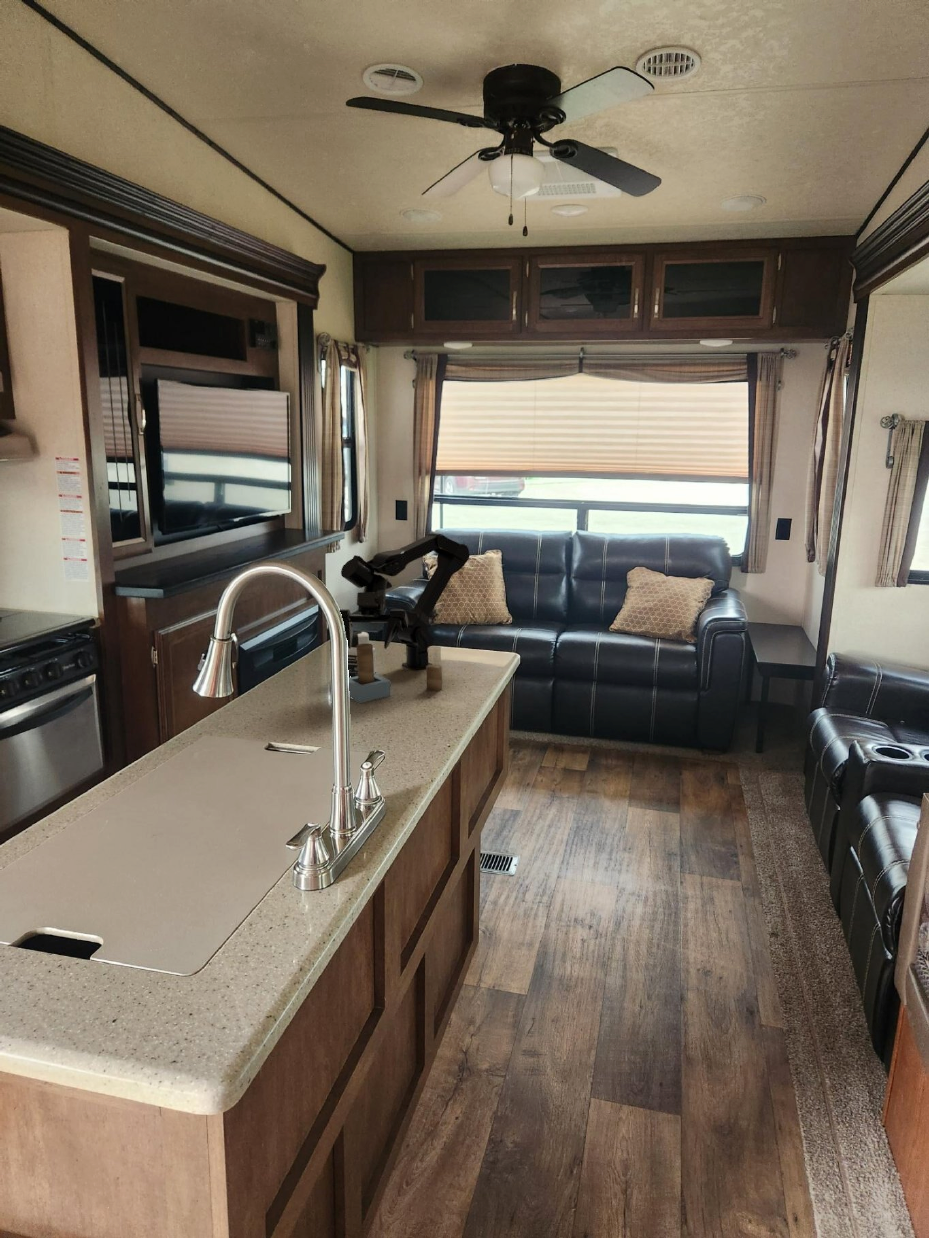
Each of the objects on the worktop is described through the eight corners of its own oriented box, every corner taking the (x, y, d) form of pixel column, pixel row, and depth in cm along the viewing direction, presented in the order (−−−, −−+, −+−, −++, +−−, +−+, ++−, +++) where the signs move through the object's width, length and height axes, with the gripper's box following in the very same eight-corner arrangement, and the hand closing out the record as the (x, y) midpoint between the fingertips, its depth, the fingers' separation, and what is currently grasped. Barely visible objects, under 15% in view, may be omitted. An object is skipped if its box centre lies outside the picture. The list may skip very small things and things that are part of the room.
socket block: (343, 694, 212) (342, 679, 211) (373, 687, 217) (372, 672, 216) (360, 703, 205) (359, 687, 204) (390, 695, 210) (390, 680, 209)
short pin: (423, 688, 215) (422, 666, 213) (436, 685, 217) (435, 663, 216) (432, 692, 212) (431, 669, 210) (445, 689, 214) (444, 666, 213)
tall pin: (356, 694, 211) (353, 645, 208) (369, 691, 213) (367, 642, 210) (364, 698, 208) (361, 648, 205) (377, 695, 210) (375, 645, 207)
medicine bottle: (342, 678, 225) (339, 635, 222) (352, 670, 232) (350, 629, 229) (366, 680, 223) (364, 636, 220) (376, 672, 230) (374, 630, 227)
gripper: (332, 578, 212) (323, 631, 204) (404, 578, 210) (398, 631, 202) (341, 602, 222) (333, 653, 214) (410, 602, 220) (405, 654, 212)
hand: (367, 647), depth 210 cm, fingers open, 9 cm apart
